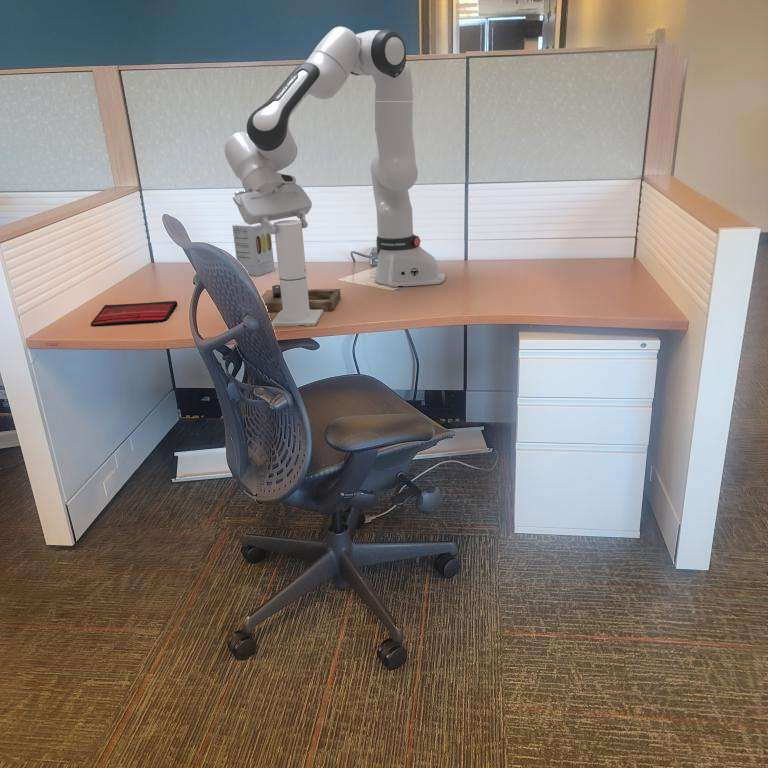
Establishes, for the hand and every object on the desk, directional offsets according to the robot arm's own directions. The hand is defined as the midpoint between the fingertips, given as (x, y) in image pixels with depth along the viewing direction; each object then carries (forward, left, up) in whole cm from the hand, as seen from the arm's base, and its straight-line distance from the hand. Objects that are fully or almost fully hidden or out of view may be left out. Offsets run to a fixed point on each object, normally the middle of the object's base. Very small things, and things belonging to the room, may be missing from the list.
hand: (290, 229), depth 173 cm
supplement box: (+26, -54, -24) cm, 65 cm away
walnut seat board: (+3, -14, -24) cm, 28 cm away
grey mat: (0, 0, -24) cm, 24 cm away
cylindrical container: (+1, -1, -23) cm, 23 cm away
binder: (+49, -5, -25) cm, 55 cm away
